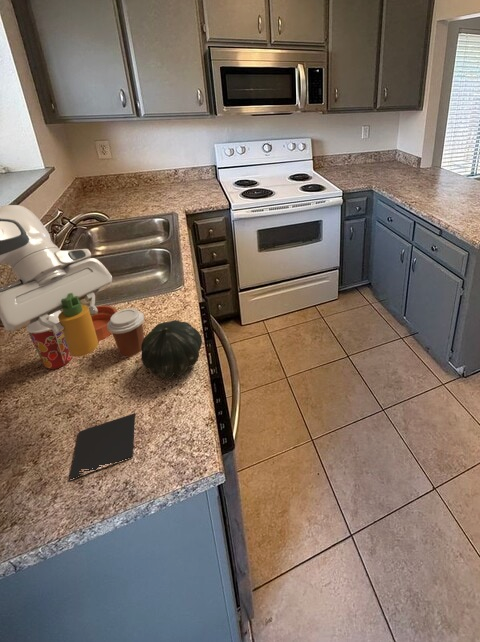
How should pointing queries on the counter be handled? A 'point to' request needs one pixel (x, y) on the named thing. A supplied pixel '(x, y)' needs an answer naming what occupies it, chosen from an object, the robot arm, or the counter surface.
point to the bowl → (102, 321)
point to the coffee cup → (127, 331)
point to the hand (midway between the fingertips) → (78, 322)
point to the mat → (104, 444)
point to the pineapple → (77, 327)
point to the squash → (171, 348)
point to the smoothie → (50, 343)
